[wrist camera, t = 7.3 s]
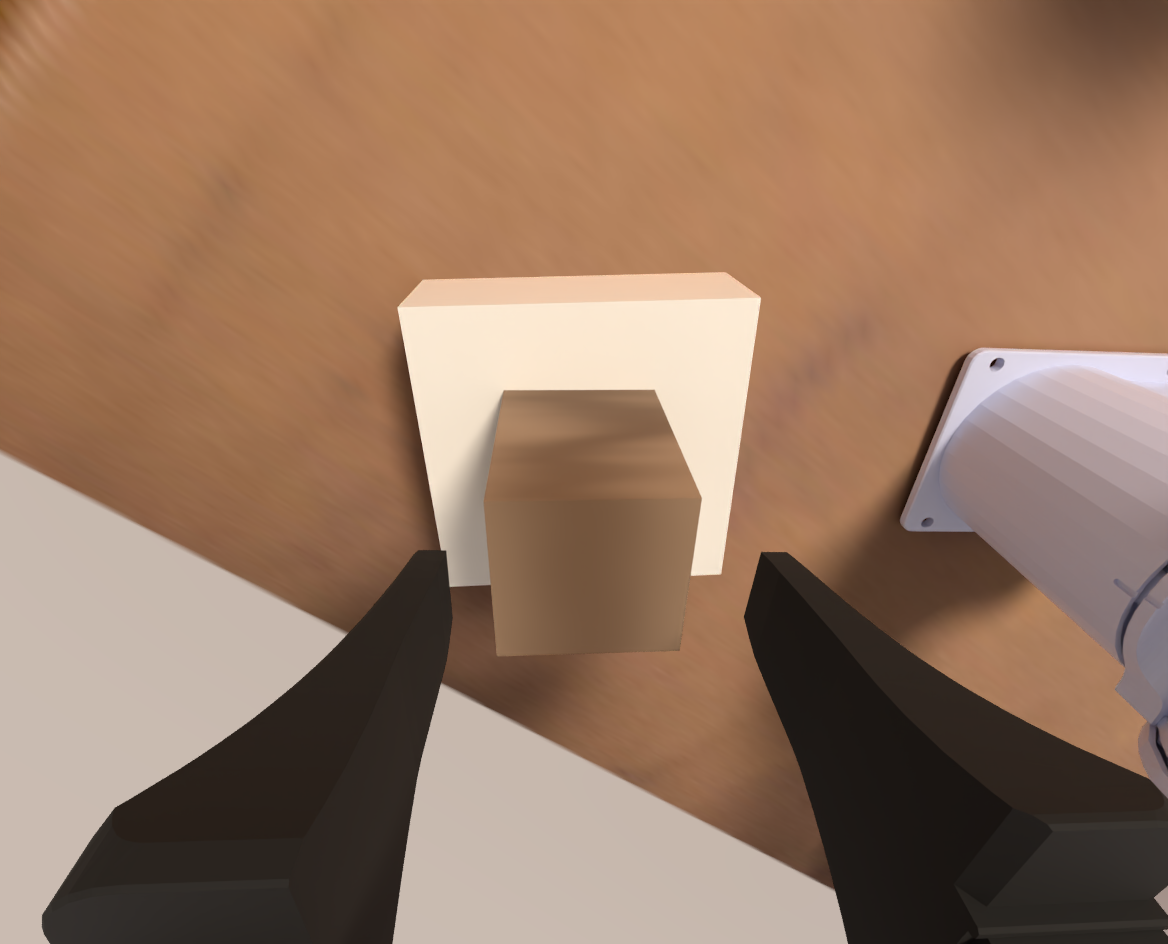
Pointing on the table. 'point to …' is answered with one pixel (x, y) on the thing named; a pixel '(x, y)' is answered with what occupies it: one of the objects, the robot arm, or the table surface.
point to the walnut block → (588, 524)
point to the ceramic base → (576, 379)
